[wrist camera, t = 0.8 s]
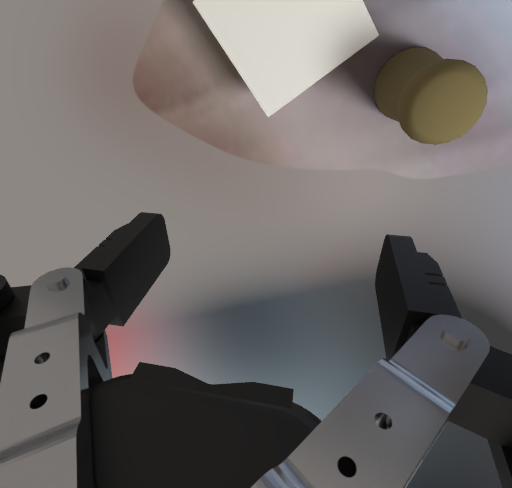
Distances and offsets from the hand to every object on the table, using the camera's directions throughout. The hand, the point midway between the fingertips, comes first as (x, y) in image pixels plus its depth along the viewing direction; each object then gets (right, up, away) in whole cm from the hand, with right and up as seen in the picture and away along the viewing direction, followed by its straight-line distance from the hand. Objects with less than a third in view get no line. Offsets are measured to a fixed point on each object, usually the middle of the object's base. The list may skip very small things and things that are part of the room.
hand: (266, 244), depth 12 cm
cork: (+14, +14, +17) cm, 26 cm away
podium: (+3, +19, +16) cm, 26 cm away
